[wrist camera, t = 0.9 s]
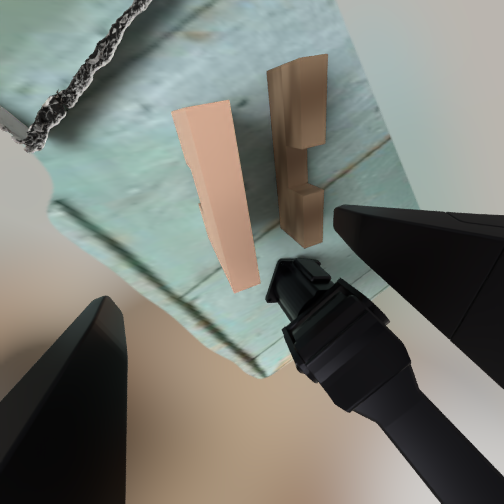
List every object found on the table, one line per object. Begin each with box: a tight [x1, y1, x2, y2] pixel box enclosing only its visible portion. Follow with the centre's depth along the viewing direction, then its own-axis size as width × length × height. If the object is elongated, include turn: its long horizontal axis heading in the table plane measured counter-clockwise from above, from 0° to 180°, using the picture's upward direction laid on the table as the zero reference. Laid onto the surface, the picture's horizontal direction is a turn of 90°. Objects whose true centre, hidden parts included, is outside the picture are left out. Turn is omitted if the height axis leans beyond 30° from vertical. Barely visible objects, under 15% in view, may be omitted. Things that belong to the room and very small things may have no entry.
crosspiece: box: [171, 100, 261, 293], centre depth 17 cm, size 11×2×9 cm, turn 11°
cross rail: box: [267, 54, 328, 249], centre depth 20 cm, size 14×2×5 cm, turn 11°
